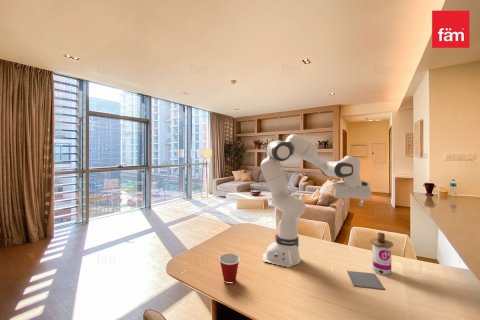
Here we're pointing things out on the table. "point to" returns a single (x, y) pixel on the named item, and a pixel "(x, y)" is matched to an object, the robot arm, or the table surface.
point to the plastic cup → (229, 266)
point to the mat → (365, 280)
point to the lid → (381, 241)
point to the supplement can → (381, 260)
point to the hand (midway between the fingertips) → (352, 205)
